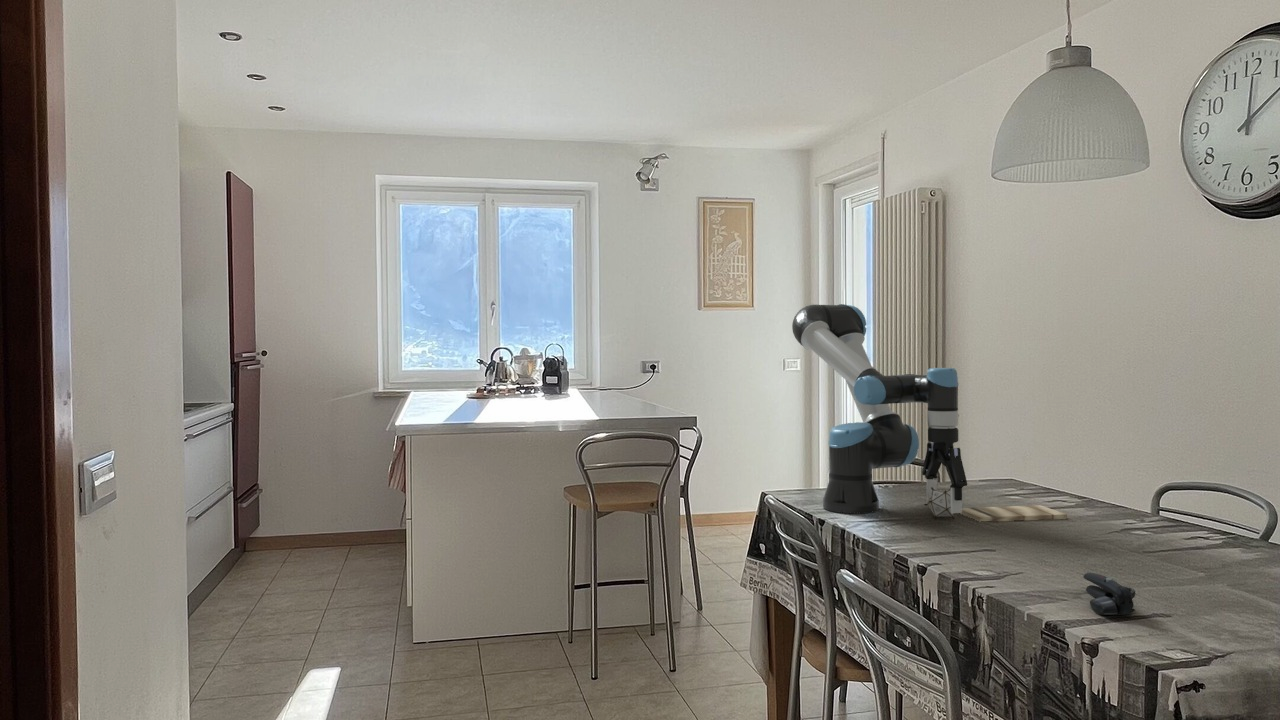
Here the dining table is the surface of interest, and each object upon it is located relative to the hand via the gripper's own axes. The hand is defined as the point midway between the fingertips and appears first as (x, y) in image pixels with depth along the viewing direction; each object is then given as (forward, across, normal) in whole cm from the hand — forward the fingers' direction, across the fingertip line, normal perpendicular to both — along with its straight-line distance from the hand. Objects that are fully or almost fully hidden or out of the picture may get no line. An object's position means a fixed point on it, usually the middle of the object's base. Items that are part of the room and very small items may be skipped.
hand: (944, 508), depth 227 cm
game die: (+3, 0, 0) cm, 3 cm away
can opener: (+4, -72, +5) cm, 72 cm away
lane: (+3, 0, -19) cm, 19 cm away
